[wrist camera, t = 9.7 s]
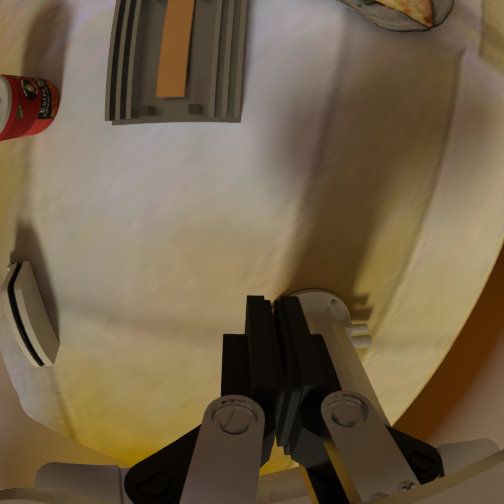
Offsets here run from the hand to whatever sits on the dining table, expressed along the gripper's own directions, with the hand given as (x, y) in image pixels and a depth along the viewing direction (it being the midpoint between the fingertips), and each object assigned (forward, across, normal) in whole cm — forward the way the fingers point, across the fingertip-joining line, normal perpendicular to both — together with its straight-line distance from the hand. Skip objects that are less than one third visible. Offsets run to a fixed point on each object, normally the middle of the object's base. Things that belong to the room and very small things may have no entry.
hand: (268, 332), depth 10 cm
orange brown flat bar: (+23, +8, -16) cm, 29 cm away
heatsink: (+27, +8, -16) cm, 32 cm away
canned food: (+27, +28, -11) cm, 41 cm away
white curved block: (+28, +33, +20) cm, 47 cm away
